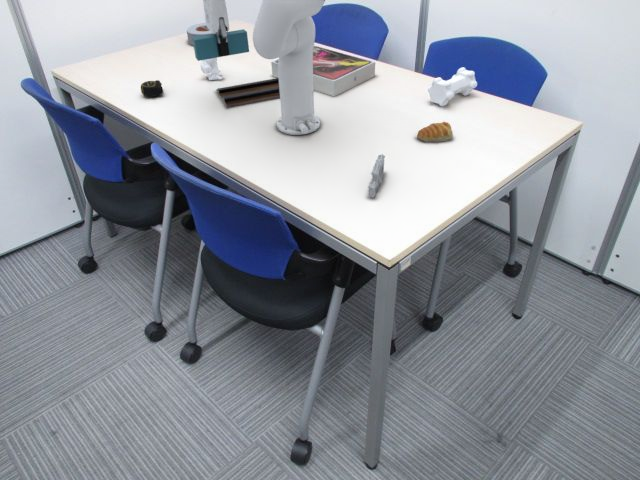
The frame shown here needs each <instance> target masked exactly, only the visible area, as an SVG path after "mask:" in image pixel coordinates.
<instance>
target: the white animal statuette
mask: <svg viewBox="0 0 640 480" xmlns="http://www.w3.org/2000/svg"><path fill="white" fill-rule="evenodd" d="M199 64H200V70H201V72H202V73H203V74H207V76H206V77H207V78H208V80H209V81H213V80H215V81H216V80H219V81H220V80H221V81H222V80H223V77H222V76H220V73H221V69H219V64H218V57H217V58H211V59H206V60H200V63H199Z"/></svg>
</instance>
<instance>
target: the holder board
mask: <svg viewBox="0 0 640 480" xmlns="http://www.w3.org/2000/svg"><path fill="white" fill-rule="evenodd" d="M215 90H216V91H215V92H216V93H217V95H218V96H219V98H220V99H221V101H222V103H223V105H224V106H225V107H226V109H229V108H234V107H239V106H245V105H250V104H256V103H260V102H266V101H271V100H272V101H273V100H277V99H280V91H279V78H277V77H274V78H271V79H270V78H269V79H264V80H259V81H253V82H248V83H241V84H237V85H236V84H235V85H230V86H224V87H218V88H217V89H215Z"/></svg>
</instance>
